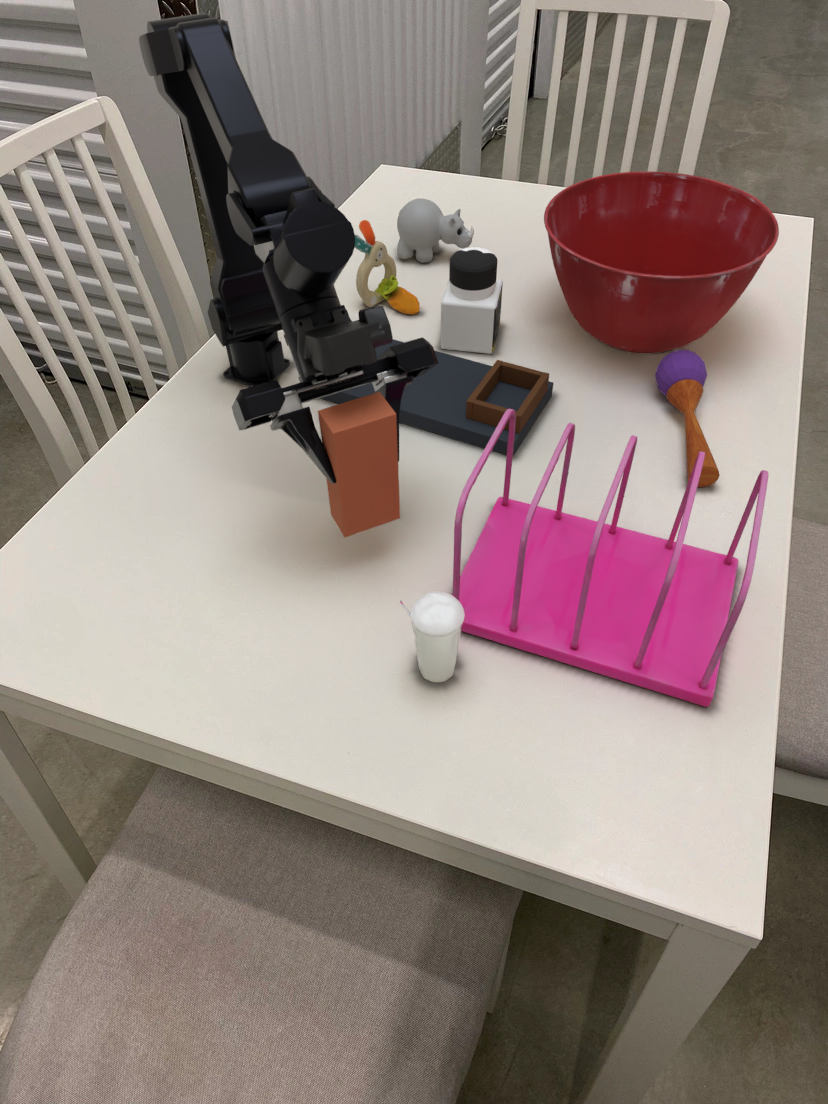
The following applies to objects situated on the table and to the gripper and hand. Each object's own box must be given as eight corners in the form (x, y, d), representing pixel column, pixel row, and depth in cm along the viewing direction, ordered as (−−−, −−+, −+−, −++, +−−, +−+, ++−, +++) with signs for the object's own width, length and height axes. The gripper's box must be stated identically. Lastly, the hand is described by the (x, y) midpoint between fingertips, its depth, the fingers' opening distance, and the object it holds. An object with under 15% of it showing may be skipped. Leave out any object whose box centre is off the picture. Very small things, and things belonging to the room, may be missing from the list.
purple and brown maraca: (676, 460, 88) (652, 343, 100) (674, 497, 92) (652, 381, 104) (734, 454, 86) (703, 336, 99) (729, 492, 91) (700, 375, 103)
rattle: (377, 328, 113) (373, 250, 105) (350, 301, 118) (343, 224, 110) (423, 312, 116) (422, 235, 107) (395, 287, 121) (392, 211, 112)
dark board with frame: (313, 396, 103) (309, 366, 100) (363, 343, 111) (361, 314, 107) (512, 457, 94) (515, 426, 91) (551, 395, 102) (555, 365, 99)
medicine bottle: (492, 355, 108) (498, 271, 100) (440, 349, 109) (440, 266, 101) (499, 326, 113) (505, 243, 104) (449, 321, 114) (450, 238, 105)
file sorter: (497, 507, 89) (507, 388, 77) (734, 570, 82) (784, 450, 71) (440, 626, 78) (442, 508, 66) (708, 709, 71) (762, 594, 60)
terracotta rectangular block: (330, 514, 81) (317, 410, 72) (385, 496, 83) (379, 391, 74) (344, 538, 79) (333, 433, 70) (400, 518, 81) (396, 413, 71)
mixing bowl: (512, 367, 106) (521, 255, 95) (555, 262, 125) (567, 158, 113) (737, 405, 100) (776, 290, 89) (748, 289, 118) (781, 181, 107)
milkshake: (401, 650, 76) (398, 581, 69) (458, 646, 76) (461, 576, 69) (405, 692, 73) (402, 623, 66) (464, 687, 73) (468, 618, 66)
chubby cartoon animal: (465, 274, 123) (466, 219, 116) (390, 262, 126) (388, 207, 119) (479, 252, 127) (481, 198, 121) (407, 241, 130) (406, 187, 124)
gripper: (216, 309, 64) (283, 498, 65) (428, 254, 69) (486, 430, 71) (207, 345, 75) (265, 507, 76) (392, 295, 80) (443, 447, 81)
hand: (365, 472), depth 76 cm, fingers closed on terracotta rectangular block, 6 cm apart
